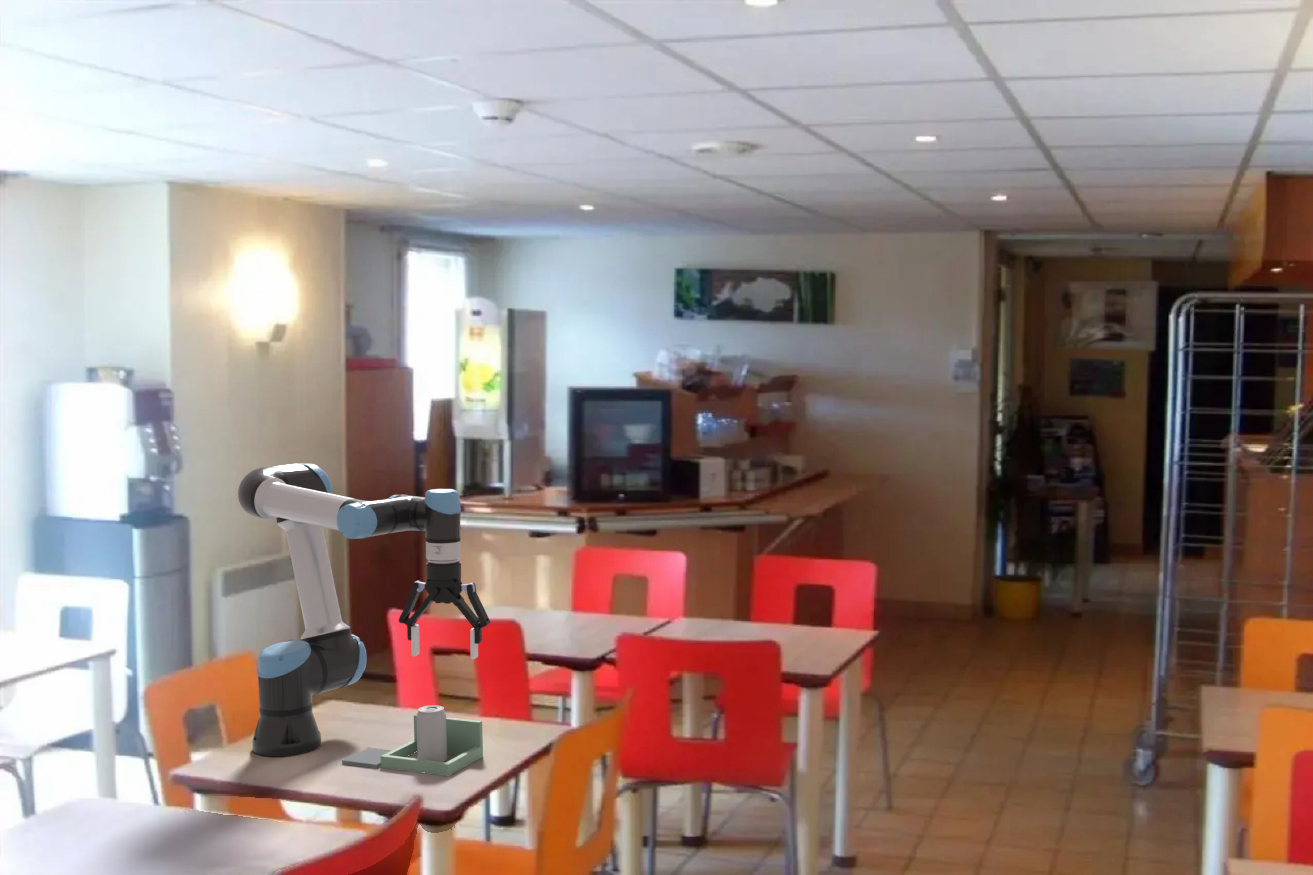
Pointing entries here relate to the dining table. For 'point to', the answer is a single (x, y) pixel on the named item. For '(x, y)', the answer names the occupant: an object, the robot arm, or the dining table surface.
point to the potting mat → (366, 758)
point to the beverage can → (431, 733)
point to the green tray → (460, 741)
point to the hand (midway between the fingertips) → (444, 656)
